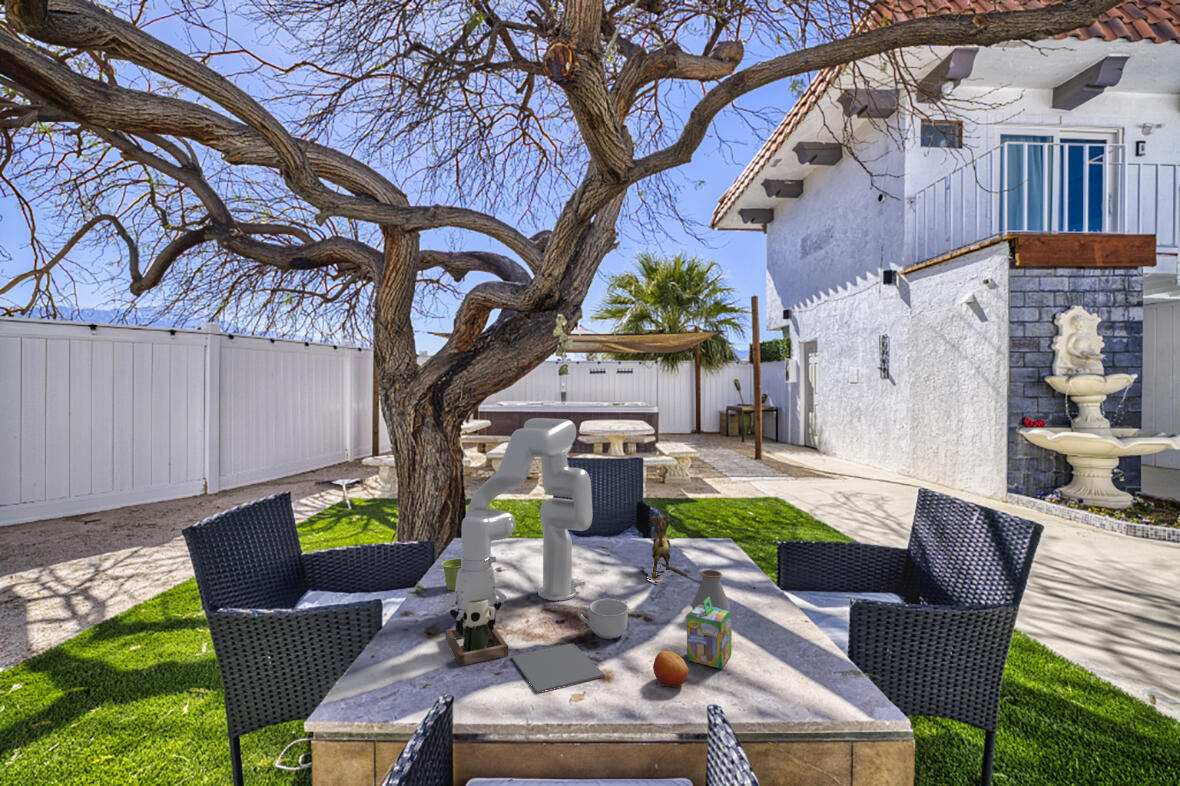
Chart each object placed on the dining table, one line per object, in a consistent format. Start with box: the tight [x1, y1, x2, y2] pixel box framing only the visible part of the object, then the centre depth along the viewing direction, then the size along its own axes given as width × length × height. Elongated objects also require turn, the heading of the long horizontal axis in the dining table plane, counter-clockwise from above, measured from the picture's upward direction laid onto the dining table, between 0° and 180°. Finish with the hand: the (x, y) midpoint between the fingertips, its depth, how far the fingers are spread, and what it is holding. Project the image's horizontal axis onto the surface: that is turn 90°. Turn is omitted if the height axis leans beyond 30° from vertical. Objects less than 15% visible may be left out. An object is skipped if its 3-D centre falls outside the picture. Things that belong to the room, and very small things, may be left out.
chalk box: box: [686, 596, 733, 670], centre depth 142 cm, size 9×9×15 cm
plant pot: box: [441, 558, 461, 592], centre depth 191 cm, size 9×9×9 cm
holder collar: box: [445, 622, 509, 667], centre depth 147 cm, size 12×16×2 cm
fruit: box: [652, 650, 690, 688], centre depth 130 cm, size 8×8×8 cm
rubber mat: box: [511, 642, 605, 694], centre depth 137 cm, size 17×18×1 cm
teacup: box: [577, 598, 629, 640], centre depth 156 cm, size 14×11×8 cm
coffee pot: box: [659, 562, 731, 611], centre depth 169 cm, size 21×12×15 cm, turn 79°
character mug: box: [462, 599, 494, 651], centre depth 147 cm, size 11×7×13 cm, turn 70°
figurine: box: [646, 515, 672, 583], centre depth 207 cm, size 13×25×20 cm, turn 171°
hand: (475, 630), depth 147 cm, fingers closed on character mug, 7 cm apart
